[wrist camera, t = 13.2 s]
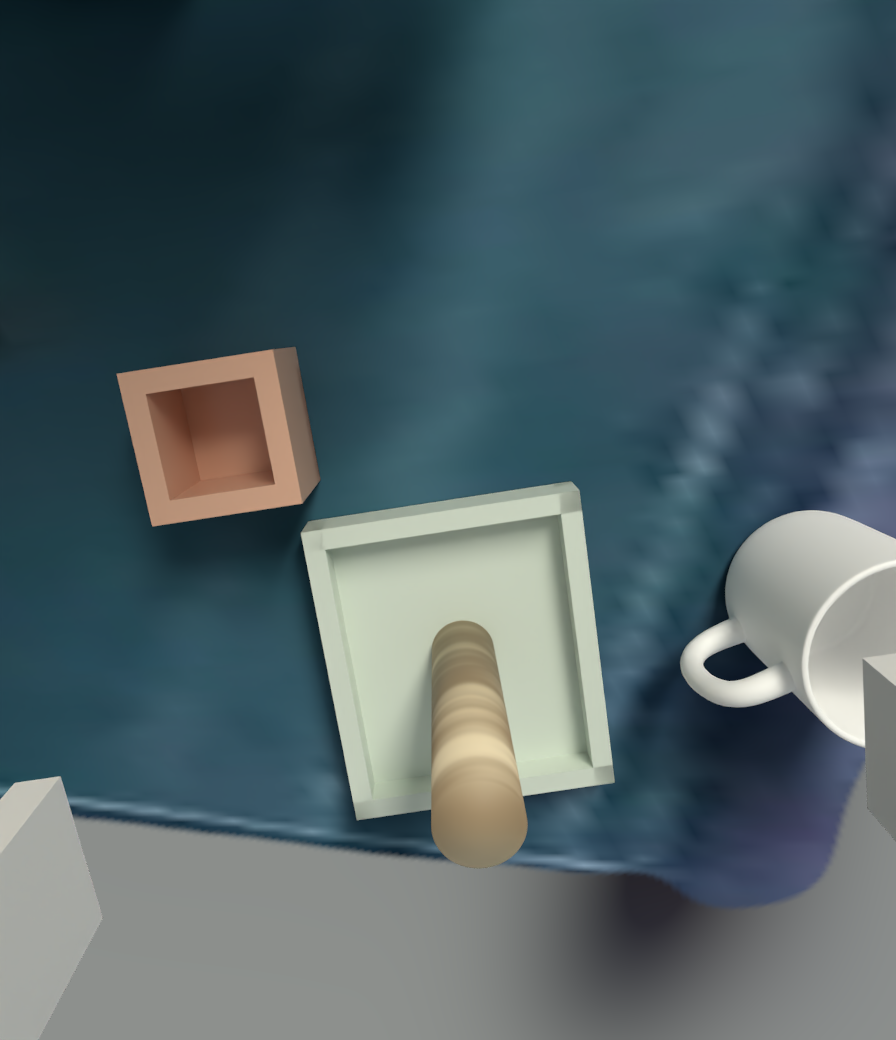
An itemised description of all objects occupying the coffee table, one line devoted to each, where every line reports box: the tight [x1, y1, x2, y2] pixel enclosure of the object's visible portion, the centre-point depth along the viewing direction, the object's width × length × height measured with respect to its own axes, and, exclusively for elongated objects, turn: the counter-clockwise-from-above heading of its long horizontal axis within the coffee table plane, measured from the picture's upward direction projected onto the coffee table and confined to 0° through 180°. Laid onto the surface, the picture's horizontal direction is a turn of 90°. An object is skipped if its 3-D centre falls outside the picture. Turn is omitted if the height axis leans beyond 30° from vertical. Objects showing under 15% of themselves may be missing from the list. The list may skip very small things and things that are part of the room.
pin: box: [431, 620, 528, 868], centre depth 36 cm, size 3×3×16 cm
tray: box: [301, 481, 615, 820], centre depth 44 cm, size 15×13×2 cm
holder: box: [117, 347, 320, 526], centre depth 39 cm, size 7×7×6 cm
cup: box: [680, 510, 896, 748], centre depth 40 cm, size 8×12×10 cm
